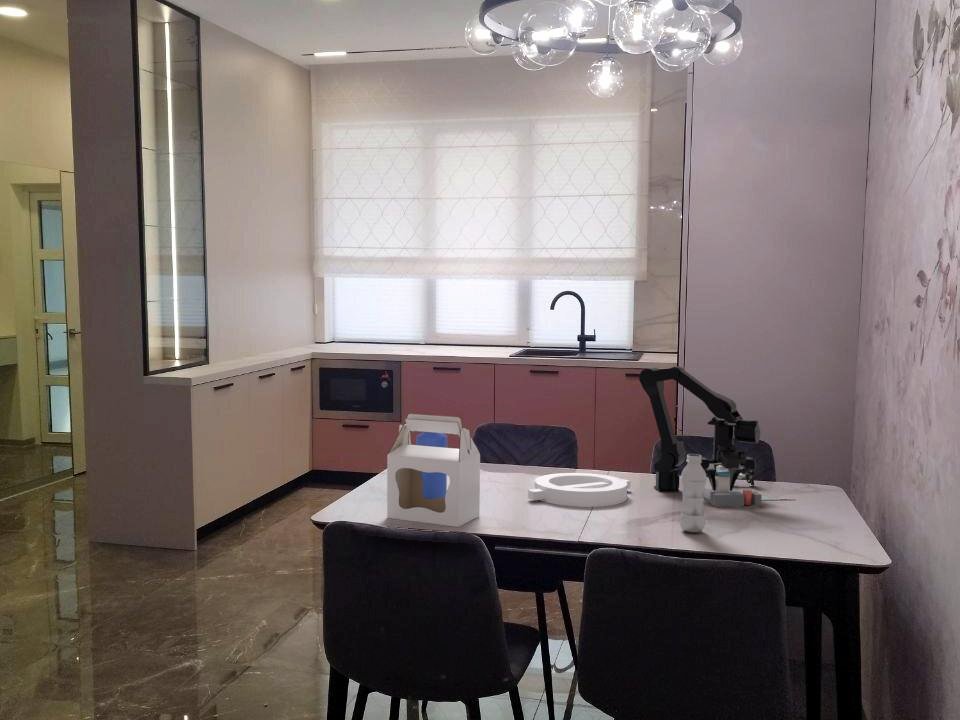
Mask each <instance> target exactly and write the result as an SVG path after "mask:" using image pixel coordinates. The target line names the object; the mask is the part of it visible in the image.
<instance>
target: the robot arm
mask: <svg viewBox="0 0 960 720" xmlns="http://www.w3.org/2000/svg"><path fill="white" fill-rule="evenodd" d="M638 380H639V383H640V385H641V387H642V390H643V391H644V392H645V393H646V395H647V396H648V398H649V401H650V405H651V409H652V411H653V412H652V413H653V416H654V419H655V423H656V427H657V431H658V435H659V437H660V448H659V450H660V451H659V452H660V453H659V455H660V459H659V460H658V461H657V462H655V463H654V464H653V469H654V471H655V485H653V488H654V489H655V488H656V489H655V490H657V491H658V492H660V491H668V492H680V475H679V471H678V470H679V469H680V466H681V465H682V464H683V463H684V462H685V461H686V459H687V455H686V454H687V451H686V448H685V443H684V440H682V441H679V440H678V439H677V437H676V435H675V432H674V431H675V430H674V428H673V424H672V419H671V417H670V413H669V410H668V406H667V402H666V399H665V395H664V391H665V381H671V380H674V381H675V382H676V383H678V384H679V385H681V386H682V387H683V388H685V389H686V390H687V391H688V392H690V393H691V394H692V395H694V396H695V397H696V398H698V399H699V400H700V401H702V402H703V404H705V405H706V408H708V411H710V413H712V414H713V415H714V416H713V417H712V418H711V420H709V421H708V422H707V423H706V424H707V425H709V426H710V425H711V426H714V428H713V429H714V430H713V431H714V432H713V433H714V434H713V435H714V436H713V442H712V446H713V454H712V455H711V459H708V458H706V457H704V456H701V461H702V463H700V464H701V466H702V468H703V469H704V471H705V473H706V477H707V478H708V481H709V483H710V486H711V489H713V491H715V489H716V481H715V474H716V471H717V470H716V468H715V467H716V466H723V467H724V468H727V469H728V471H730V472H731V476H730V491H732V489H734V487H735V484H736V480H738V478H737V477H738V475H739V474H740V473H743V472H745V471H746V470H750V469H754V470H755V469H757V462H756V460H755V459H754V458H752V457H750V456H747V452H746V451H736V445H735V444H734V439H735V440H737V442H739V443H749V444H750V443H751V444H758V443H759V442H760V438H761V430H760V428H761V427H760V424H759V420H757V419H752V420H751V419H750V420H749V419H743V417H742V416H741V414H740V413H739V411H738V409H737V404H736V402H735V401H734V400H733V399H731V398H729V397H727V396H726V395H722V394H721V393H718V392H715V391H713V390H712V389H711V388H709V386H706V385H705V384H704V383H702V382H701V381H700V380H699V379H697V378H696V377H694V376H693V375H692V374H690V372H688V371H686V370H685V369H684V368H683V367H682V366H676V365H675V366H672V367H670V368H663V369H660V368H658V367H649V368H644V369H642V370H641V371H640V373H639V376H638ZM744 468H745V469H744Z"/></svg>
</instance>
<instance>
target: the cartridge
mask: <svg viewBox="0 0 960 720" xmlns="http://www.w3.org/2000/svg"><path fill="white" fill-rule="evenodd" d="M730 476H731V472H730V471H729V470H728V471H727V470H717V471H716V474H715V481H716V489H715V492H730Z"/></svg>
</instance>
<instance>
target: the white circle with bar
mask: <svg viewBox="0 0 960 720" xmlns="http://www.w3.org/2000/svg"><path fill="white" fill-rule="evenodd" d="M631 482H632V481H631V480H628V479H623V478H619V477H616V476H612V475H606V474H600V473H599V474H598V473H589V472H588V473H587V472H560V473H550V474H546V475H545V474H544V475H540V476H538V477H536V478H535V479H534V488H532V489H528V490H527V499H529V500H532V501H539V500H540V501H542V502H546V503H550V504H555V505H558V506H559V505H561V506H570V507H583V508H585V507H589V508H591V507H607V506H608V507H609V506H614V505H617V504H622V503H624V502H625V501H626V500H627V498H628V490H630V489H631Z"/></svg>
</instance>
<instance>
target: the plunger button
mask: <svg viewBox="0 0 960 720" xmlns="http://www.w3.org/2000/svg"><path fill="white" fill-rule="evenodd" d="M752 492H753V490H752V489H742V493H743V494H744V506H745V505H746V506H750V505H752Z"/></svg>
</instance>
